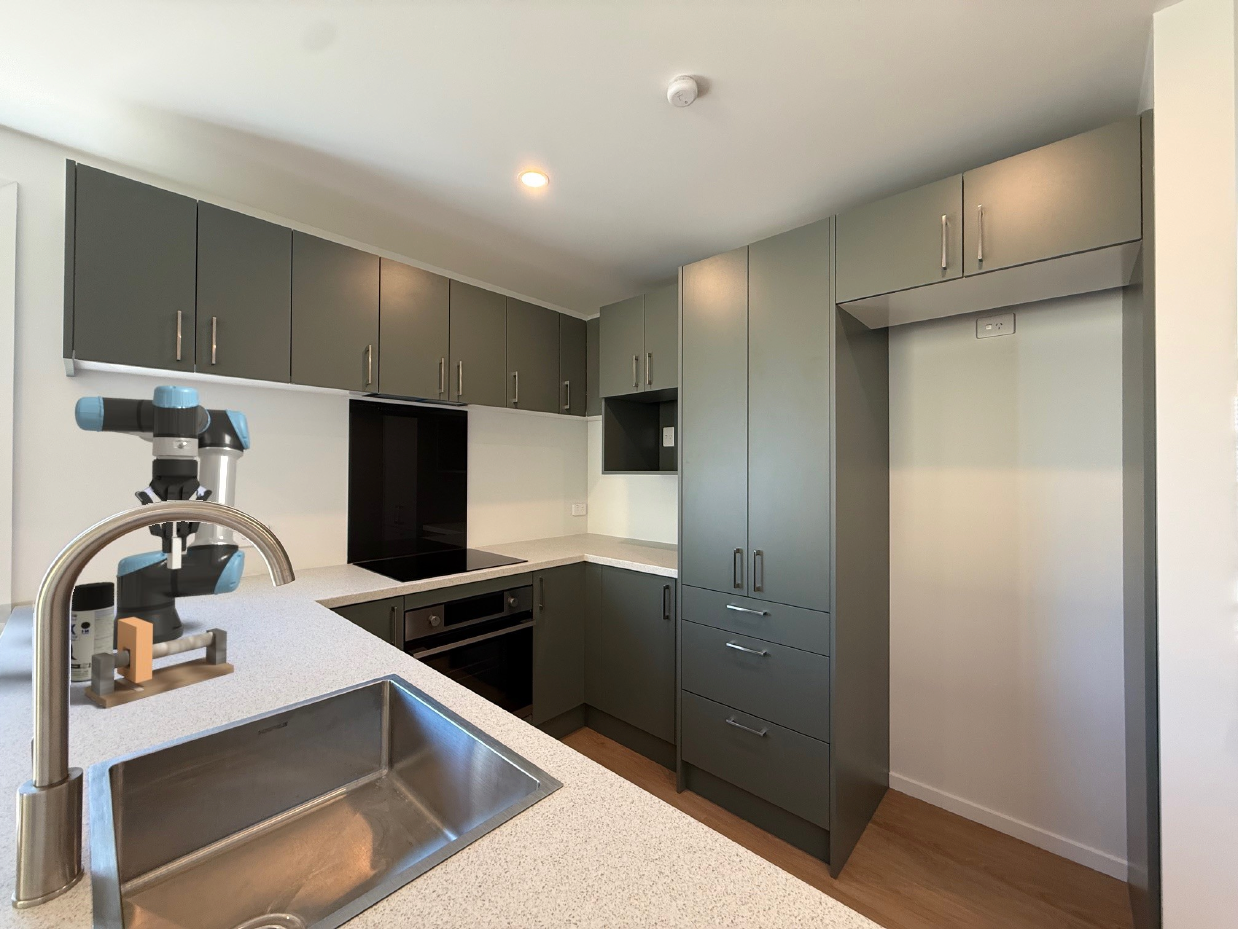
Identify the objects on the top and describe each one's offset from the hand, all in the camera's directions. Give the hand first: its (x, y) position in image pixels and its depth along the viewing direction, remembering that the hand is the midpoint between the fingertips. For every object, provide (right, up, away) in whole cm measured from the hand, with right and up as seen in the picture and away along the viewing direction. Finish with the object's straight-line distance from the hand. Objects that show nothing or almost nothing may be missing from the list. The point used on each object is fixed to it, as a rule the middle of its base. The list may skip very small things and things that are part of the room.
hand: (174, 567), depth 112 cm
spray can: (-19, -24, +2) cm, 31 cm away
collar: (-3, -21, -6) cm, 22 cm away
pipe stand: (-1, -24, -2) cm, 24 cm away
